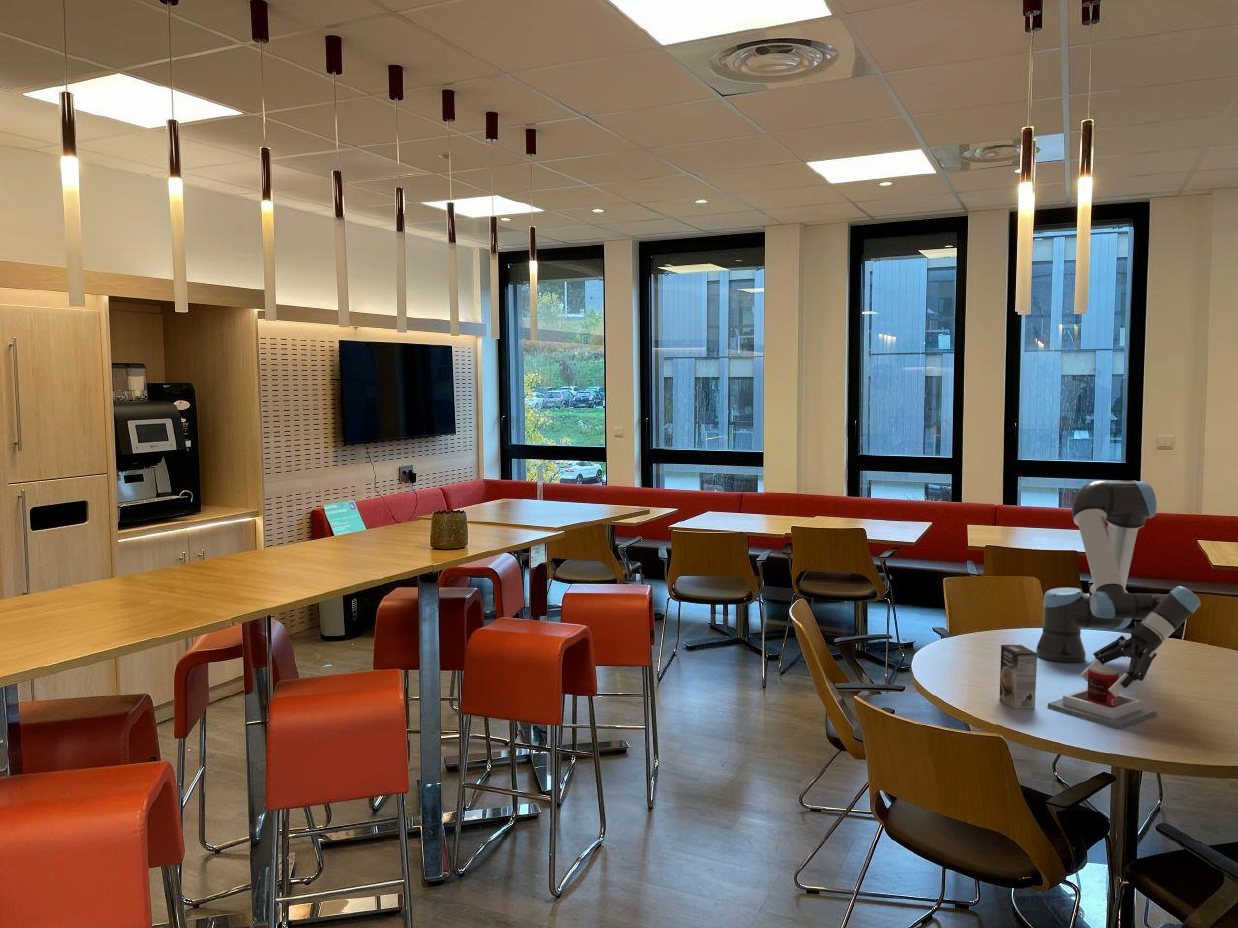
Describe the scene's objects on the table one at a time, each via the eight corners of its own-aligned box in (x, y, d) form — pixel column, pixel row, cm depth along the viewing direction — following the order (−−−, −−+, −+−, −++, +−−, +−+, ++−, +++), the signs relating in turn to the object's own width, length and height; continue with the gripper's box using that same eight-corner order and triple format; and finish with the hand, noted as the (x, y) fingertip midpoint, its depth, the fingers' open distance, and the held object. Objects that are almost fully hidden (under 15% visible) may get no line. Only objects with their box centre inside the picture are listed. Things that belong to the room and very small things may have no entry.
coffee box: (998, 698, 265) (999, 644, 264) (1019, 697, 266) (1021, 643, 265) (1014, 708, 256) (1016, 652, 255) (1036, 708, 257) (1038, 652, 256)
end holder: (1047, 707, 257) (1048, 694, 257) (1086, 694, 268) (1086, 682, 268) (1118, 728, 241) (1119, 715, 240) (1156, 714, 252) (1157, 701, 251)
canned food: (1114, 703, 257) (1116, 665, 256) (1120, 712, 250) (1121, 673, 249) (1084, 700, 260) (1086, 663, 259) (1089, 709, 252) (1090, 671, 251)
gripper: (1190, 653, 242) (1133, 709, 242) (1132, 630, 266) (1081, 680, 267) (1172, 634, 241) (1115, 690, 241) (1115, 612, 266) (1064, 663, 266)
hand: (1097, 685), depth 254 cm, fingers open, 13 cm apart
